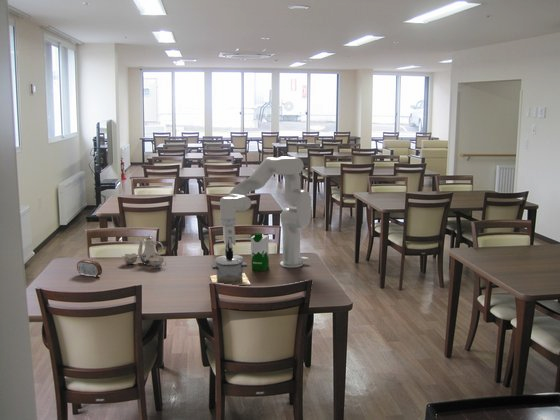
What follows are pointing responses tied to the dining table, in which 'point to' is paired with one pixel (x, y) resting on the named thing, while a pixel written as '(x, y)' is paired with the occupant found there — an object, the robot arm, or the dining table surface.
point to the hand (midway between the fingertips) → (229, 257)
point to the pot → (230, 274)
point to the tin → (89, 267)
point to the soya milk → (260, 252)
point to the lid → (229, 260)
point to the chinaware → (147, 254)
